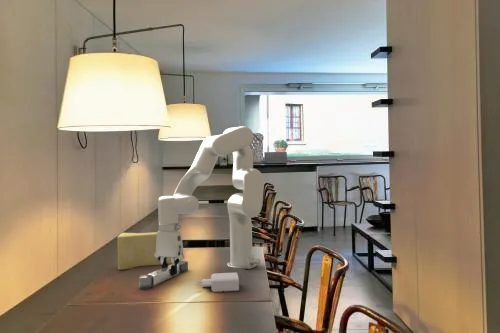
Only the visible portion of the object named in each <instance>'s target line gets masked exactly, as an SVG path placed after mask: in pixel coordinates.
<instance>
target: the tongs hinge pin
mask: <svg viewBox="0 0 500 333" xmlns="http://www.w3.org/2000/svg"><path fill="white" fill-rule="evenodd" d="M138 289H139V290H149V289H152V276H151V275H147V274H141V275H140V276H138Z"/></svg>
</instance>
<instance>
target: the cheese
mask: <svg viewBox="0 0 500 333" xmlns="http://www.w3.org/2000/svg"><path fill="white" fill-rule="evenodd" d="M157 233H158V231H156V232H141V233H140V232H121V233H120V234H119V235H117V270H119V271H124V270H125V271H126V270H131V269H134V268H135V267H142V266H144V267H145V266H157V265H161V264H160V261H159V260H158V258H156V257H155V256H154V254H155V252H156V238H157ZM167 263H168V265H171V264H172V261H171V257H167Z"/></svg>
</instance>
